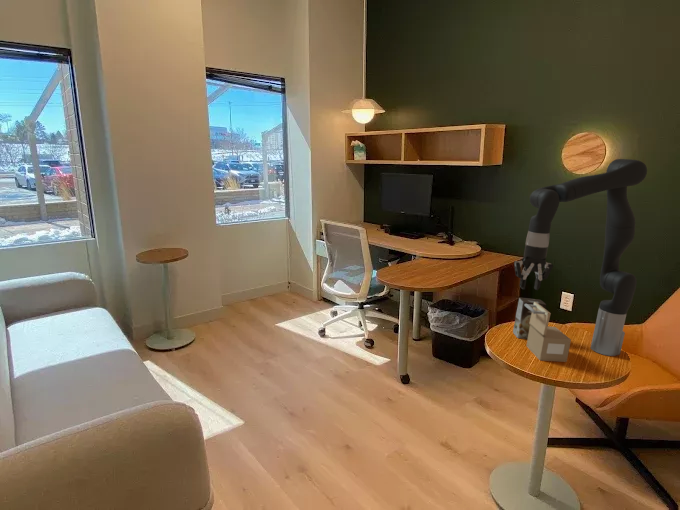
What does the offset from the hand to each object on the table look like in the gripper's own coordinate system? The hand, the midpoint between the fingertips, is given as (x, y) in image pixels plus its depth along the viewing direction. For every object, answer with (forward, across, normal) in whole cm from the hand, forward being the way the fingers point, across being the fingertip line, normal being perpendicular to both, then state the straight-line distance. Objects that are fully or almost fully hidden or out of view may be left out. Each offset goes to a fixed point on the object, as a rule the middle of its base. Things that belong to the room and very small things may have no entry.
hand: (529, 288), depth 155 cm
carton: (+26, -10, 0) cm, 28 cm away
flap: (+12, -6, 0) cm, 13 cm away
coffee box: (+26, -9, -16) cm, 32 cm away
